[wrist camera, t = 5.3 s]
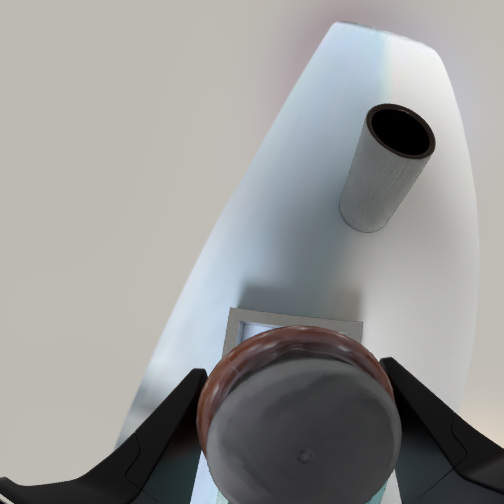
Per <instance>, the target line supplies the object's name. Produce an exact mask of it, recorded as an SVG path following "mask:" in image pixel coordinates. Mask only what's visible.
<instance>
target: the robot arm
mask: <svg viewBox="0 0 504 504" xmlns="http://www.w3.org/2000/svg"><path fill="white" fill-rule="evenodd" d="M379 363H380V364H381V366H382V368H383V369H384V371H385V373H386V374H387V376H388V378H389V380H390V384H391V386H392V388H393V394H394V399H395V405H396V407H397V410H398V413H399V417H400V422H401V430H402V437H401V447H400V452H399V457H398V460H397V463H396V465H395V473H396V477H397V482H398V487H399V492H400V497H401V502H402V504H504V448H502V447H500V446H499V445H497V444H496V443H494V442H493V441H491V440H490V439H488V438H487V437H485V436H484V435H483V434H481V433H480V432H478V431H477V430H475V429H474V428H473V427H472V426H470V425H469V424H468V423H467V422H465V421H464V420H463V419H462V418H461V417H460V416H459V415H457V414H456V413H455V412H454V411H453V410H452V409H451V408H449V407H448V406H447V405H446V404H445V403H444V402H443V401H441V400H440V399H439V398H438V397H437V396H436V395H435V394H434V393H432V392H431V391H430V390H429V389H428V388H427V387H426V386H424V385H423V384H422V383H421V382H420V381H419V380H418V379H416V378H415V377H414V376H413V375H412V374H411V373H410V372H408V371H407V370H406V369H405V368H404V367H403V366H402V365H400V364H399V363H398V362H397V361H396V360H395V359H394V358H392V357H387V358H382V359H380V361H379ZM207 379H208V376H207V373H206V370H205V369H202V368H194V369H192V370H191V371H190V373H189V374H188V375H187V376H186V377H185V378H184V379H183V380H182V381H181V382H180V384H179V385H178V386H177V387H176V388H175V389H174V390H173V391H172V392H171V393H170V394H169V396H168V397H167V398H166V399H165V400H164V401H163V402H162V403H161V404H160V405H159V406H158V407H157V408H156V409H155V411H154V412H153V413H152V414H151V415H150V416H149V417H148V418H147V419H146V420H145V421H144V422H143V423H142V424H141V425H140V426H139V427H138V429H137V430H136V431H135V432H134V433H133V434H132V435H131V436H130V437H129V438H128V439H127V440H126V441H125V442H124V443H123V444H122V445H121V446H120V447H119V448H117V449H116V450H115V451H114V452H113V453H112V454H110V455H109V456H108V457H107V458H106V459H104V460H103V461H102V462H100V463H99V464H98V465H96V466H95V467H94V468H93V469H91V470H90V471H89V472H87V473H86V474H84V475H83V476H81V477H79V478H77V479H74V480H70V481H64V482H59V483H52V484H43V485H35V486H22V485H18V484H16V483H14V482H12V481H11V480H10V479H8V478H6V477H1V478H0V494H2V495H3V496H4V497H6V498H7V499H9V500H10V501H11V502H12V503H14V504H190V501H191V496H192V492H193V487H194V482H195V478H196V473H197V469H198V464H199V459H200V455H201V450H202V449H201V446H200V443H199V440H198V434H197V425H196V417H197V407H198V402H199V398H200V395H201V391H202V389H203V387H204V385H205V383H206V381H207ZM0 504H7V503H6V502H4V501H2V500H1V499H0Z"/></svg>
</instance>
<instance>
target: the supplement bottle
mask: <svg viewBox="0 0 504 504" xmlns="http://www.w3.org/2000/svg"><path fill="white" fill-rule="evenodd" d="M196 425H197V434H198V440H199V443H200V446H201V449H202V451H203V454H204V456H205V458H206V460H207V465H208V467H209V472H210V474H211V476H212V479H213V481H214V483H215V485H216V486H217V488H218V490H219V491H220V492H221V494H222V495H223V496H224V497H225V498H226V499H227V500H228V501H229V502H230V503H231V504H365V503H367V502H368V501H370V500H371V499H372V498H373V496H374V495H376V494H377V493H378V492H379V490H380V489H381V488H382V487H383V486H384V484H385V483H386V481H387V480H388V478H389V477H390V475H391V473H392V472H393V470H394V468H395V465H396V463H397V460H398V457H399V452H400V447H401V437H402V430H401V422H400V417H399V413H398V410H397V407H396V405H395V399H394V394H393V388H392V386H391V384H390V380H389V378H388V376H387V374H386V373H385V371H384V369H383V368H382V366H381V364H380V363H379V362H378V361H377V359H376V358H375V357H374V356H373V354H372V353H371V352H369V351H368V350H367V349H366V348H365V347H364V346H362V345H361V344H360V343H358V342H357V341H355V340H353V339H351V338H350V337H348V336H346V335H344V334H341V333H338V332H337V331H333V330H330V329H326V328H321V327H316V326H303V325H294V326H285V327H280V328H275V329H271V330H268V331H265V332H262V333H260V334H257V335H255V336H253V337H251V338H249V339H247V340H245V341H244V342H242V343H240V344H239V345H237V346H236V347H235V348H233V349H232V350H231V351H230V352H229V353H228V354H227V355H225V356H224V357H223V358H222V359H221V360H220V362H219V363H218V364H217V365H216V366H215V368H214V369H213V371H212V372H211V374H210V375H209V377H208V379H207V381H206V383H205V385H204V387H203V389H202V391H201V395H200V398H199V402H198V407H197V417H196Z"/></svg>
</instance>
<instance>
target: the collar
mask: <svg viewBox="0 0 504 504" xmlns="http://www.w3.org/2000/svg"><path fill="white" fill-rule="evenodd" d="M244 324H250V325H257V326H265V327H273V328H280V327H285V326H294V325H303V326H316V327H321V328H326V329H330V330H333V331H337V332H338V333H341V334H344V335H346V336H348V337H350V338H351V339H353V340H355V341H357V342H358V343H360V344H361V338H362V328H363V322H353V321H341V320H331V319H321V318H311V317H302V316H293V315H284V314H276V313H268V312H261V311H253V310H246V309H239V308H232V307H230V311H229V317H228V323H227V329H226V335H225V341H224V347H223V354H222V358H223V357H224V356H225V355H227V354H228V353H229V352H230V351H231V350H232V349H233V348H235V347H236V346H237V345H239V344H240V343H241V338H242V331H243V325H244Z"/></svg>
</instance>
